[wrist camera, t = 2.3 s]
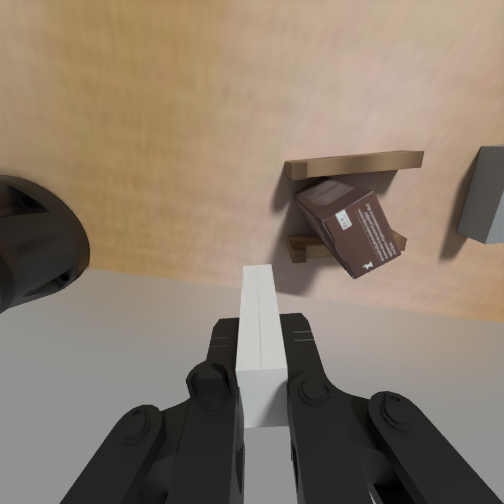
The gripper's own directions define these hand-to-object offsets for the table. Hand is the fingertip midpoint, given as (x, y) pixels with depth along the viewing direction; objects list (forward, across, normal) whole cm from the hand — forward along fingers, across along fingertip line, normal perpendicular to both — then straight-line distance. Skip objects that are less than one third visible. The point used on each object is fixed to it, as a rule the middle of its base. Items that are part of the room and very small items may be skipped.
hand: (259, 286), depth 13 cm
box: (+17, +8, 0) cm, 19 cm away
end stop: (+17, +26, 0) cm, 31 cm away
